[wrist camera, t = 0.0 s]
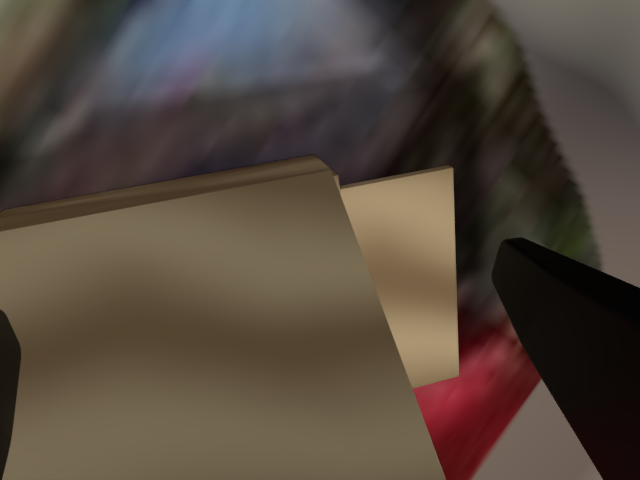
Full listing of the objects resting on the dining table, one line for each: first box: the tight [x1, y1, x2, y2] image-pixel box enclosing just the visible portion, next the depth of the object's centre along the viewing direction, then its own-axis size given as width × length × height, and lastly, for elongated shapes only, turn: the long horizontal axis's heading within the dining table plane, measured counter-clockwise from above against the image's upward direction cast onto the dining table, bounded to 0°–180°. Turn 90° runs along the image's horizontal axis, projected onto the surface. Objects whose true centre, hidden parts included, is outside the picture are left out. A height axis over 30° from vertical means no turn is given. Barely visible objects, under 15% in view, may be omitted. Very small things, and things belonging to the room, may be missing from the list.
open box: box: [0, 154, 459, 388], centre depth 24 cm, size 12×24×4 cm, turn 97°
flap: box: [0, 170, 446, 480], centre depth 16 cm, size 12×13×1 cm
